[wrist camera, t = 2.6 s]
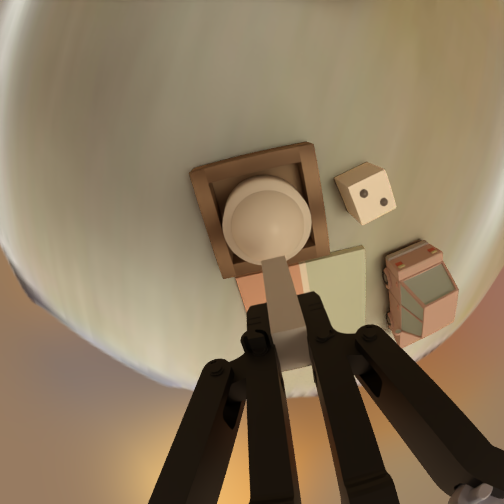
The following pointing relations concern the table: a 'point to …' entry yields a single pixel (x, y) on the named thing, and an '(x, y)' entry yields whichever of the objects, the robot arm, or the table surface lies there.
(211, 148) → the table surface
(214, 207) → the dome housing
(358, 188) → the die
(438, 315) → the toy car
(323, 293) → the board
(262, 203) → the dome
